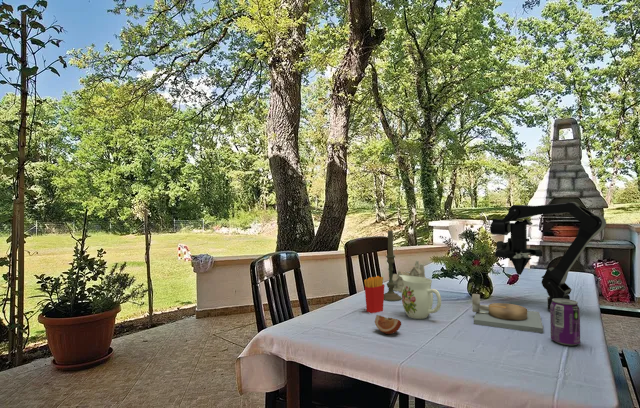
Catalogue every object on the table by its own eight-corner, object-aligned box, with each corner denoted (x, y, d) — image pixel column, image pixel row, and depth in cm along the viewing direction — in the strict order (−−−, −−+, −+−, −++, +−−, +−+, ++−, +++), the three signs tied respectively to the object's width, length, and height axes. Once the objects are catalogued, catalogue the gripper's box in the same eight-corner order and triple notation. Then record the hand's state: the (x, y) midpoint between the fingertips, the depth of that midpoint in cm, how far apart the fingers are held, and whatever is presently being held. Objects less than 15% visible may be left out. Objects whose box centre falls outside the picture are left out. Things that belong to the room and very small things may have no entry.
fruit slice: (371, 332, 114) (370, 316, 114) (383, 327, 119) (383, 312, 119) (393, 338, 108) (393, 322, 109) (405, 333, 113) (405, 317, 113)
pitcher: (430, 326, 119) (430, 284, 120) (390, 313, 134) (389, 276, 134) (450, 320, 126) (450, 280, 126) (409, 308, 140) (409, 273, 141)
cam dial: (524, 311, 129) (524, 294, 129) (530, 321, 118) (530, 302, 118) (471, 307, 135) (471, 290, 135) (472, 316, 124) (472, 298, 124)
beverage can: (585, 348, 100) (584, 304, 100) (557, 346, 102) (556, 303, 102) (573, 338, 107) (572, 298, 107) (546, 337, 109) (546, 297, 109)
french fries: (378, 307, 142) (378, 274, 143) (387, 309, 139) (386, 276, 139) (361, 311, 137) (361, 277, 137) (369, 314, 133) (369, 279, 134)
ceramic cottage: (433, 288, 175) (430, 257, 176) (418, 296, 163) (415, 262, 163) (403, 286, 185) (401, 257, 186) (388, 293, 173) (385, 262, 173)
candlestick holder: (404, 297, 158) (404, 229, 158) (397, 302, 150) (396, 230, 151) (385, 295, 163) (384, 228, 163) (376, 299, 155) (376, 229, 155)
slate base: (539, 316, 130) (539, 311, 130) (543, 333, 112) (543, 328, 112) (475, 308, 140) (475, 304, 140) (470, 323, 122) (470, 318, 122)
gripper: (520, 233, 156) (521, 270, 156) (485, 235, 151) (485, 272, 151) (543, 235, 146) (543, 274, 146) (505, 237, 140) (506, 277, 140)
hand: (519, 274), depth 146 cm, fingers closed
